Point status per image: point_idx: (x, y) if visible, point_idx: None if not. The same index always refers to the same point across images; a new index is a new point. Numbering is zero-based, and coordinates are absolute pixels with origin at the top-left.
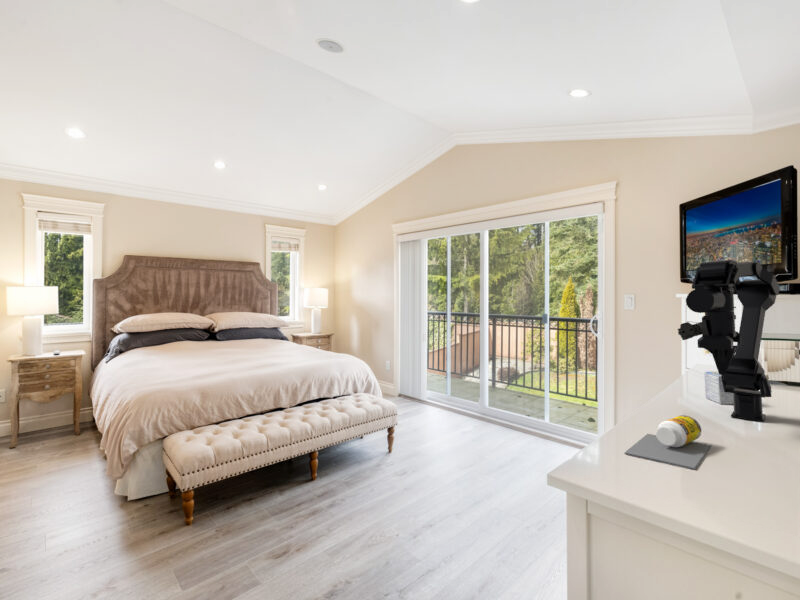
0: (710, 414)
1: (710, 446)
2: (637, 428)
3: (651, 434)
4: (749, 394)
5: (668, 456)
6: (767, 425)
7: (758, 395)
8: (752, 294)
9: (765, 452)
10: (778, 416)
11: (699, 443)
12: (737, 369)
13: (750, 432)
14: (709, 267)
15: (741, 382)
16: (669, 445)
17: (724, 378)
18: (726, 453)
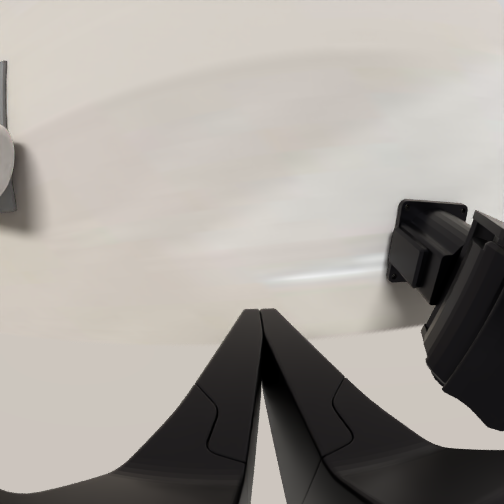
0: (414, 138)
1: (11, 211)
2: (54, 4)
3: (2, 70)
4: (443, 294)
5: None
6: (354, 289)
7: (430, 319)
8: None
9: (71, 303)
10: None
11: (8, 187)
12: (497, 337)
13: (235, 264)
14: None
15: (449, 311)
16: None
17: (486, 248)
18: (6, 244)
